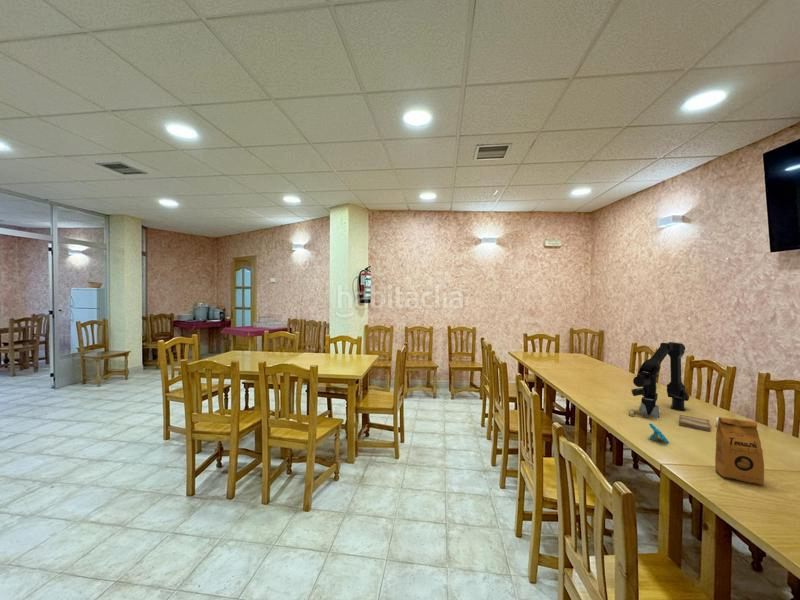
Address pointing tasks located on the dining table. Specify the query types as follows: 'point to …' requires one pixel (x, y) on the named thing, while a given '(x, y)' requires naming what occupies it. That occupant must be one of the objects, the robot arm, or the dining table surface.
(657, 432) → the blue t-shaped bar
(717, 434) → the coffee package
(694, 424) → the stand
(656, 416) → the housing
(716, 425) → the cream thin sliver
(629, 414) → the loose bolt
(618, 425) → the dining table surface
